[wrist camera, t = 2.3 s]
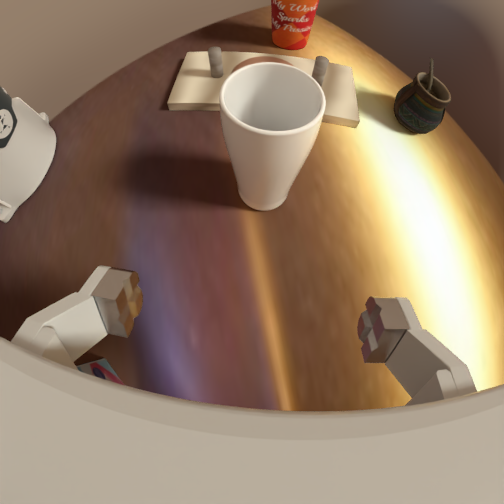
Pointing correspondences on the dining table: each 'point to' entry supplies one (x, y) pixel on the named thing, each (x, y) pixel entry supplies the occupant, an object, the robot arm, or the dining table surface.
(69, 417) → the robot arm
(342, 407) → the dining table surface
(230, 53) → the pin board
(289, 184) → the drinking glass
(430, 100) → the mate gourd
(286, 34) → the paper cup
